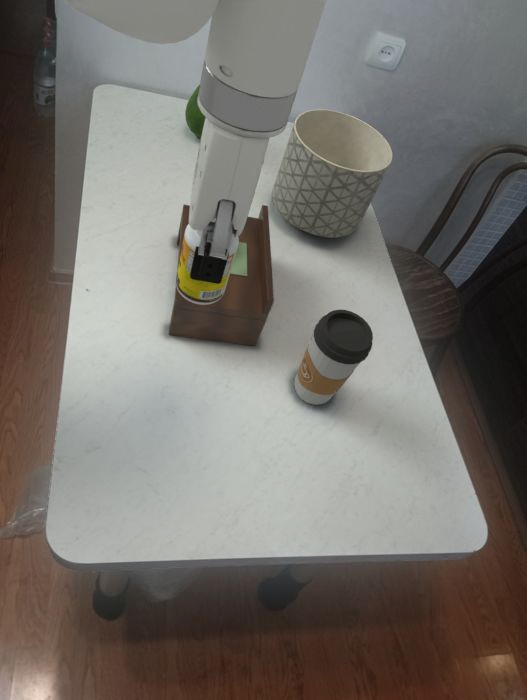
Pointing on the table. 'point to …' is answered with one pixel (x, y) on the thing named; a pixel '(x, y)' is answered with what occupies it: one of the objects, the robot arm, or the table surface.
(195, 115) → the fruit
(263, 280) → the shelf
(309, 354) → the coffee cup
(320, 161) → the planter
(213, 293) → the supplement bottle
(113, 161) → the table surface
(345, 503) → the table surface
